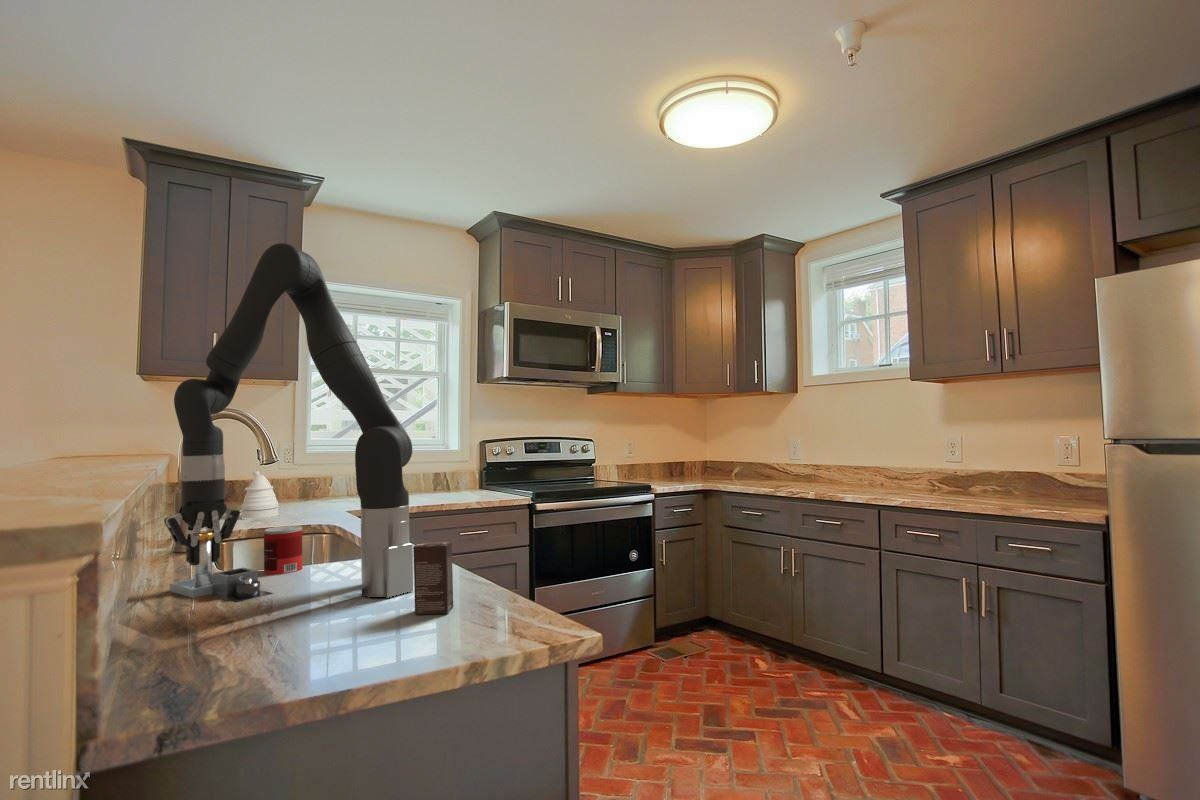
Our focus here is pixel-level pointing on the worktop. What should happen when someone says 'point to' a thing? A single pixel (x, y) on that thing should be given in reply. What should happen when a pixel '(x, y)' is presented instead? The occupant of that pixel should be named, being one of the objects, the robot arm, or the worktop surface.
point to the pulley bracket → (237, 585)
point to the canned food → (282, 550)
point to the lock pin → (204, 560)
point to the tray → (186, 589)
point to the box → (433, 578)
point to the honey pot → (259, 499)
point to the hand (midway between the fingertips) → (203, 562)
